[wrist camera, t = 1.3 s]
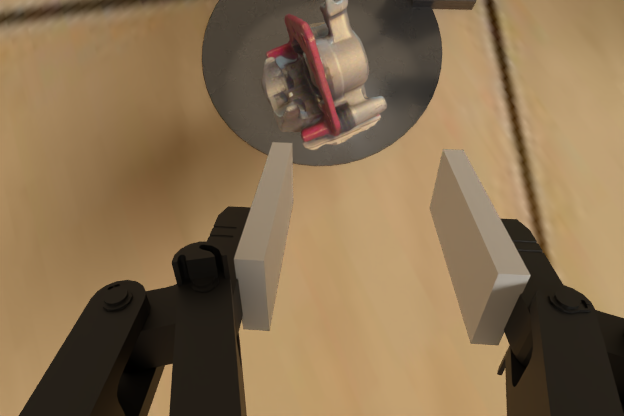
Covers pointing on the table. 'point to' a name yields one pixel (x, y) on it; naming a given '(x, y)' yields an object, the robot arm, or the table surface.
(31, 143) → the table surface
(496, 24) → the table surface
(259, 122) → the disc
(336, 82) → the brake caliper
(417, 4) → the stand
